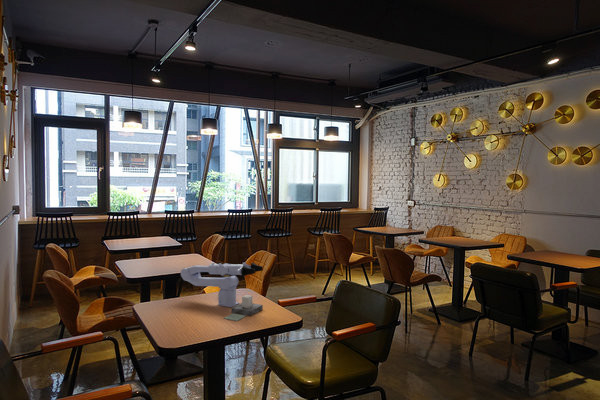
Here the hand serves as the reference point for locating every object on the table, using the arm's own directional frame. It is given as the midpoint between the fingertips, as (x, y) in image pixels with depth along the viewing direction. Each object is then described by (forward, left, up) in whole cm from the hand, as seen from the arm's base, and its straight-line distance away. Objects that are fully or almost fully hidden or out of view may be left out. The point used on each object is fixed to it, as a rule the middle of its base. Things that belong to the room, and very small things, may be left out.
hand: (258, 269), depth 216 cm
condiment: (-31, +14, -22) cm, 41 cm away
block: (-4, -5, -22) cm, 23 cm away
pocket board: (-4, -5, -22) cm, 23 cm away
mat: (-4, -16, -22) cm, 28 cm away
